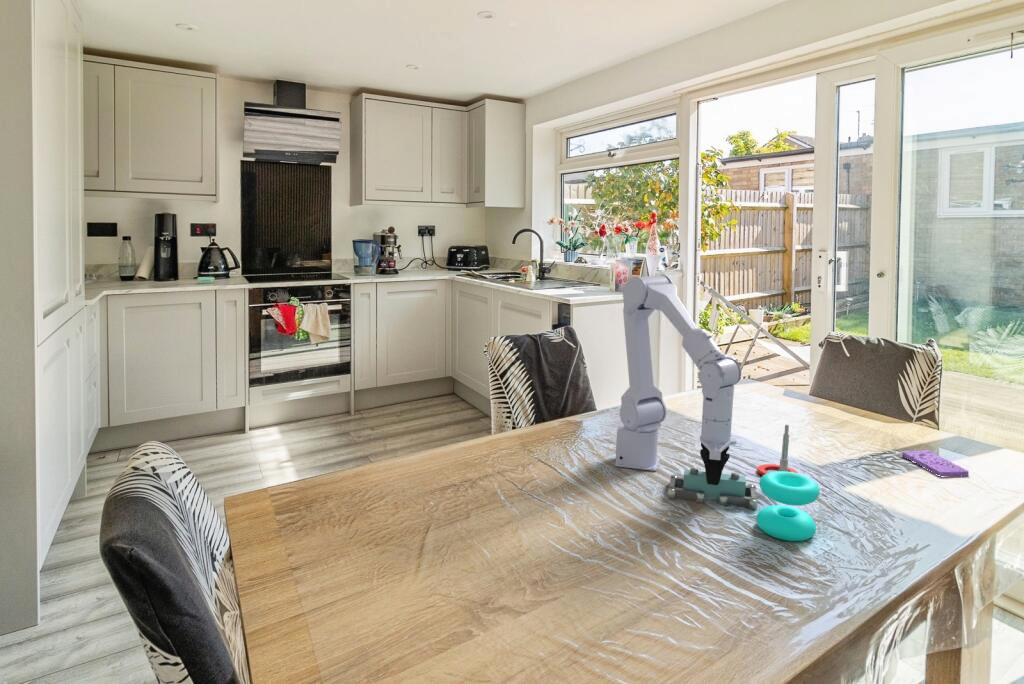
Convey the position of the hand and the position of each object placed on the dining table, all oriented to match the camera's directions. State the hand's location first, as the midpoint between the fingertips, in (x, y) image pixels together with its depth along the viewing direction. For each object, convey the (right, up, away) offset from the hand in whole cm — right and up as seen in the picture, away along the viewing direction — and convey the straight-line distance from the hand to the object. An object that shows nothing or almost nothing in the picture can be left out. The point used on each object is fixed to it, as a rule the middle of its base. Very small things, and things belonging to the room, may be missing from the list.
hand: (712, 480), depth 127 cm
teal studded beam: (0, -3, +1) cm, 3 cm away
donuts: (+9, -6, -14) cm, 17 cm away
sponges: (+57, -1, +16) cm, 59 cm away
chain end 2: (+5, -4, -1) cm, 6 cm away
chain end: (-5, -3, +2) cm, 6 cm away
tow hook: (+18, -2, +11) cm, 22 cm away
